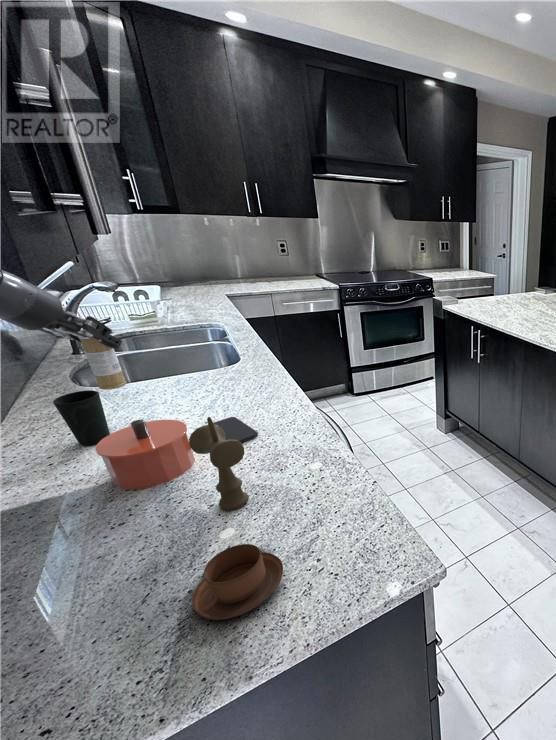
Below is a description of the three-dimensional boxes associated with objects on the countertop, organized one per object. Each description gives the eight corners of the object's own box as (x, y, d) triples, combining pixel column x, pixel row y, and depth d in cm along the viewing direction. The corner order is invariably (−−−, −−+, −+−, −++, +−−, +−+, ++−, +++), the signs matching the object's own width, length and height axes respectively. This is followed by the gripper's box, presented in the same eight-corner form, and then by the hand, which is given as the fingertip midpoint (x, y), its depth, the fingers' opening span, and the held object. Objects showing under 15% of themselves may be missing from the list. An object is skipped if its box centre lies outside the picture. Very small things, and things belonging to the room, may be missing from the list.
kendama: (239, 486, 87) (215, 403, 78) (262, 505, 82) (238, 418, 74) (207, 501, 82) (178, 415, 74) (229, 522, 77) (201, 432, 69)
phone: (233, 415, 112) (259, 432, 105) (234, 418, 113) (260, 435, 105) (202, 426, 107) (227, 444, 99) (203, 428, 107) (228, 447, 99)
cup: (107, 429, 105) (89, 387, 100) (122, 437, 102) (105, 394, 97) (67, 443, 99) (46, 399, 94) (82, 451, 96) (61, 407, 91)
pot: (202, 476, 89) (189, 440, 85) (119, 504, 80) (101, 465, 76) (190, 451, 98) (178, 416, 94) (114, 473, 89) (98, 436, 85)
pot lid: (193, 442, 85) (187, 423, 84) (98, 470, 76) (89, 449, 74) (181, 417, 95) (175, 399, 93) (95, 439, 85) (87, 420, 83)
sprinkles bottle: (113, 381, 90) (90, 323, 85) (133, 382, 90) (111, 324, 85) (92, 390, 86) (67, 329, 81) (113, 391, 86) (89, 330, 80)
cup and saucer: (263, 624, 59) (254, 595, 56) (176, 629, 58) (162, 599, 55) (297, 559, 70) (290, 531, 67) (224, 561, 69) (214, 534, 66)
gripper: (61, 283, 71) (146, 331, 87) (-13, 279, 72) (84, 326, 88) (39, 320, 68) (131, 362, 84) (-37, 315, 69) (67, 357, 85)
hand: (106, 344), depth 86 cm, fingers closed on sprinkles bottle, 4 cm apart
